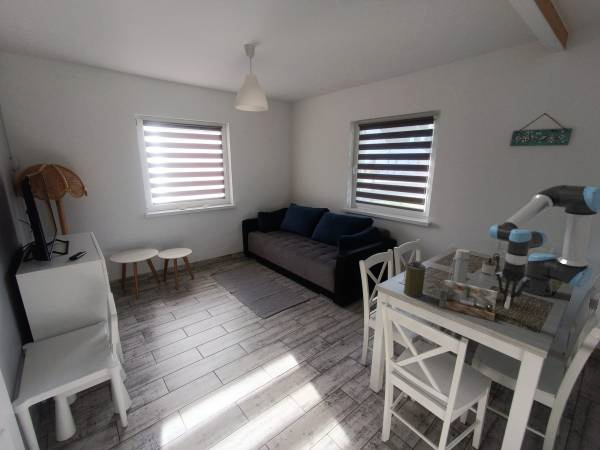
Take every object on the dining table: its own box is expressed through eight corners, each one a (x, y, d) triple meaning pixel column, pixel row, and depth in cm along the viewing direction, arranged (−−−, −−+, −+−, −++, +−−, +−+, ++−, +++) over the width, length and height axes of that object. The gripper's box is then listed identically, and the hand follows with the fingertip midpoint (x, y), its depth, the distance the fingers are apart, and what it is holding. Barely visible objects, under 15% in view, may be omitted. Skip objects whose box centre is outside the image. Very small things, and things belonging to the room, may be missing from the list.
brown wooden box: (493, 312, 137) (497, 291, 134) (493, 321, 129) (498, 299, 126) (441, 298, 150) (444, 279, 147) (438, 306, 142) (441, 286, 139)
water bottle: (461, 287, 164) (468, 249, 158) (466, 293, 156) (472, 253, 151) (445, 285, 166) (451, 247, 160) (448, 291, 159) (454, 251, 153)
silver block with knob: (491, 310, 135) (494, 293, 133) (491, 314, 131) (494, 298, 129) (460, 301, 143) (462, 286, 141) (459, 306, 138) (461, 290, 136)
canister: (423, 292, 157) (427, 260, 153) (421, 299, 148) (425, 266, 144) (404, 287, 163) (407, 257, 158) (401, 294, 154) (404, 262, 149)
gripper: (532, 262, 123) (523, 308, 129) (497, 257, 130) (490, 300, 136) (534, 267, 117) (524, 315, 123) (498, 261, 124) (490, 307, 130)
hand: (506, 307), depth 129 cm, fingers closed
